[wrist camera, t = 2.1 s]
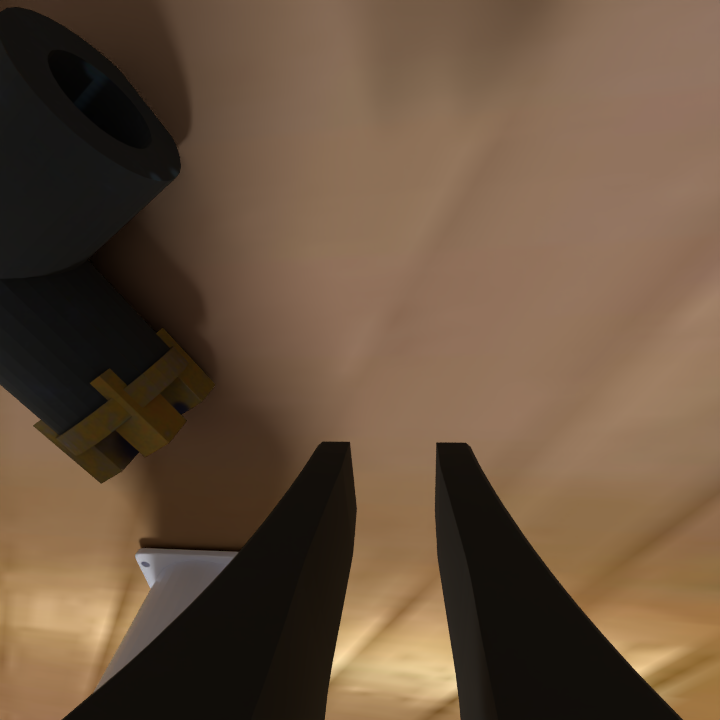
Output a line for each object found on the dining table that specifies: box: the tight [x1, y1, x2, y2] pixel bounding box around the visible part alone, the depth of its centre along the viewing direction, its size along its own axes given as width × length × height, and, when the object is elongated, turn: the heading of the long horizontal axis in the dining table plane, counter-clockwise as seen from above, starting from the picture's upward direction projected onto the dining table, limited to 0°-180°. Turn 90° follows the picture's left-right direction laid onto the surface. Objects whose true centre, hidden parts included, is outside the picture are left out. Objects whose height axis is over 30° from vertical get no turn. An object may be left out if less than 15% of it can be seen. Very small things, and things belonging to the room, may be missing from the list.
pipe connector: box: [0, 7, 215, 484], centre depth 15 cm, size 12×5×15 cm
